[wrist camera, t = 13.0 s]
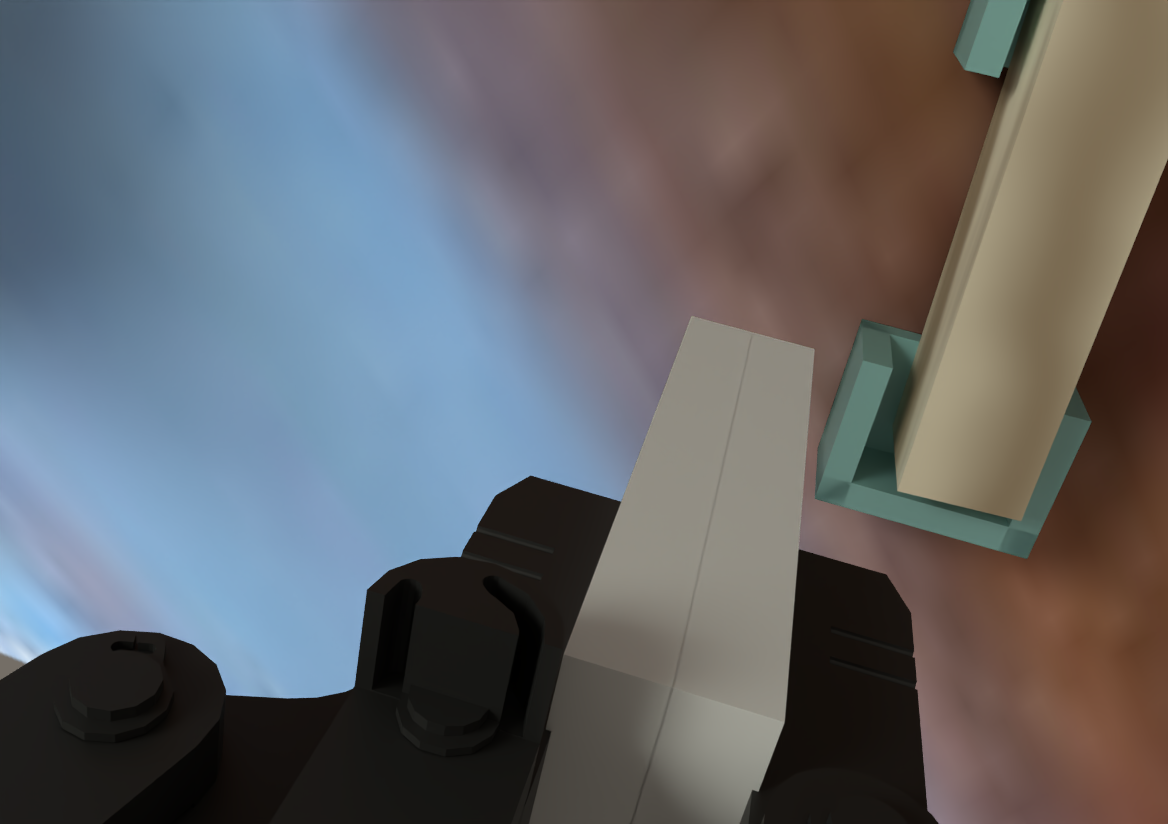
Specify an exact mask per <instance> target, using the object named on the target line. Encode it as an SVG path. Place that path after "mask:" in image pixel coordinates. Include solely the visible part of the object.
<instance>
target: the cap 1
mask: <svg viewBox="0 0 1168 824" xmlns="http://www.w3.org/2000/svg"><path fill="white" fill-rule="evenodd" d="M921 336H922V335H921V334H917V333H913V332H909V331H906V330H902V329H898V328H894V327H891V326H887V325H883V324H879V323H875V322H872V321H868V320H864V319H862V320H861V323H860V326H859V329H858V332H857V335H856V338H855V341H854V344H853V347H852V350H851V353H850V356H849V358H848V361H847V364H846V367H845V370H844V373H843V376H842V379H841V382H840V385H839V388H838V391H837V394H836V396H835V399H834V402H833V405H832V408H831V411H830V414H829V417H828V420H827V423H826V426H825V429H824V432H823V434H822V437H821V440H820V443H819V446H818V454H817V471H816V487H815V499H817V500H821V501H824V502H828V503H831V504H835V505H839V506H842V507H846V508H849V509H853V510H856V511H860V512H863V513H867V514H870V515H874V516H877V517H881V518H884V519H888V520H891V521H895V522H898V523H902V524H906V525H909V526H913V527H916V528H920V529H923V530H927V531H930V532H934V533H937V534H941V535H944V536H948V537H951V538H955V539H958V540H962V541H965V542H969V543H973V544H976V545H980V546H983V547H987V548H990V549H994V550H997V551H1001V552H1004V553H1008V554H1011V555H1015V556H1018V557H1022V558H1025V559H1027V558H1028V556H1029V554H1030V552H1031V549H1032V547H1033V545H1034V543H1035V541H1036V539H1037V537H1038V535H1039V532H1040V530H1041V528H1042V526H1043V524H1044V522H1045V520H1046V518H1047V515H1048V513H1049V511H1050V509H1051V507H1052V505H1053V503H1054V501H1055V498H1056V496H1057V494H1058V492H1059V490H1060V488H1061V486H1062V484H1063V481H1064V479H1065V477H1066V475H1067V473H1068V471H1069V469H1070V467H1071V464H1072V462H1073V460H1074V458H1075V456H1076V454H1077V452H1078V450H1079V447H1080V445H1081V443H1082V441H1083V439H1084V437H1085V435H1086V433H1087V431H1088V428H1089V426H1090V424H1091V419H1090V417H1089V415H1088V413H1087V411H1086V409H1085V406H1084V404H1083V402H1082V400H1081V398H1080V395H1079V393H1078V391H1077V389H1076V387H1075V389H1074V392H1073V394H1072V397H1071V399H1070V402H1069V404H1068V407H1067V409H1066V412H1065V414H1064V416H1063V419H1062V421H1061V424H1060V426H1059V429H1058V431H1057V434H1056V436H1055V439H1054V441H1053V444H1052V446H1051V449H1050V451H1049V454H1048V456H1047V458H1046V461H1045V463H1044V466H1043V468H1042V471H1041V473H1040V476H1039V478H1038V481H1037V483H1036V486H1035V488H1034V491H1033V493H1032V495H1031V498H1030V500H1029V503H1028V505H1027V508H1026V510H1025V513H1024V515H1023V518H1022V520H1021V521H1018V520H1014V519H1010V518H1006V517H1002V516H998V515H994V514H989V513H985V512H981V511H977V510H973V509H969V508H965V507H961V506H957V505H952V504H948V503H944V502H940V501H936V500H932V499H928V498H924V497H920V496H916V495H911V494H907V493H903V492H899V491H897V479H896V466H895V453H894V440H893V428H892V425H893V422H894V419H895V416H896V413H897V410H898V407H899V404H900V401H901V397H902V394H903V391H904V388H905V385H906V382H907V379H908V376H909V373H910V370H911V367H912V364H913V361H914V357H915V354H916V351H917V348H918V345H919V342H920V339H921Z"/></svg>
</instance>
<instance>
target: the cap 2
mask: <svg viewBox="0 0 1168 824" xmlns="http://www.w3.org/2000/svg"><path fill="white" fill-rule="evenodd" d="M1029 4H1030V0H971V2H970V5H969V7H968V10H967V13H966V16H965V19H964V22H963V25H962V28H961V31H960V34H959V37H958V40H957V43H956V46H955V48H954V51H953V53H954V54H955V56H956V57H957V59H958V60H959V62H960V63H961V65H962V67H963V68H964V70H968V71H972V72H976V73H980V74H985V75H989V76H993V77H997V78H999V76H1000V74H1001V71H1002V68H1003V67H1006V68H1009V65H1010V62H1011V59H1012V56H1013V53H1014V50H1015V47H1016V44H1017V40H1018V37H1019V34H1020V31H1021V28H1022V25H1023V22H1024V19H1025V16H1026V13H1027V10H1028V7H1029Z"/></svg>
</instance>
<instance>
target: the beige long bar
mask: <svg viewBox="0 0 1168 824" xmlns="http://www.w3.org/2000/svg"><path fill="white" fill-rule="evenodd" d="M1167 160H1168V0H1030V4H1029V7H1028V10H1027V13H1026V16H1025V19H1024V22H1023V25H1022V28H1021V31H1020V34H1019V37H1018V40H1017V44H1016V47H1015V50H1014V53H1013V56H1012V59H1011V62H1010V65H1009V68H1008V71H1007V74H1006V77H1005V80H1004V84H1003V87H1002V90H1001V93H1000V96H999V99H998V102H997V105H996V108H995V111H994V114H993V117H992V120H991V124H990V127H989V130H988V133H987V136H986V139H985V142H984V145H983V148H982V151H981V154H980V157H979V160H978V164H977V167H976V170H975V173H974V176H973V179H972V182H971V185H970V188H969V191H968V194H967V197H966V200H965V204H964V207H963V210H962V213H961V216H960V219H959V222H958V225H957V228H956V231H955V234H954V237H953V240H952V244H951V247H950V250H949V253H948V256H947V259H946V262H945V265H944V268H943V271H942V274H941V277H940V281H939V284H938V287H937V290H936V293H935V296H934V299H933V302H932V305H931V308H930V311H929V314H928V317H927V321H926V324H925V327H924V330H923V333H922V336H921V339H920V342H919V345H918V348H917V351H916V354H915V357H914V361H913V364H912V367H911V370H910V373H909V376H908V379H907V382H906V385H905V388H904V391H903V394H902V397H901V401H900V404H899V407H898V410H897V413H896V416H895V419H894V422H893V425H892V428H893V440H894V453H895V466H896V479H897V491H899V492H903V493H907V494H911V495H916V496H920V497H924V498H928V499H932V500H936V501H940V502H944V503H948V504H952V505H957V506H961V507H965V508H969V509H973V510H977V511H981V512H985V513H989V514H994V515H998V516H1002V517H1006V518H1010V519H1014V520H1018V521H1021V520H1022V518H1023V515H1024V513H1025V510H1026V508H1027V505H1028V503H1029V500H1030V498H1031V495H1032V493H1033V491H1034V488H1035V486H1036V483H1037V481H1038V478H1039V476H1040V473H1041V471H1042V468H1043V466H1044V463H1045V461H1046V458H1047V456H1048V454H1049V451H1050V449H1051V446H1052V444H1053V441H1054V439H1055V436H1056V434H1057V431H1058V429H1059V426H1060V424H1061V421H1062V419H1063V416H1064V414H1065V412H1066V409H1067V407H1068V404H1069V402H1070V399H1071V397H1072V394H1073V392H1074V389H1075V387H1076V384H1077V382H1078V379H1079V377H1080V375H1081V372H1082V370H1083V367H1084V365H1085V362H1086V360H1087V357H1088V355H1089V352H1090V350H1091V347H1092V345H1093V342H1094V340H1095V337H1096V335H1097V333H1098V330H1099V328H1100V325H1101V323H1102V320H1103V318H1104V315H1105V313H1106V310H1107V308H1108V305H1109V303H1110V300H1111V298H1112V296H1113V293H1114V291H1115V288H1116V286H1117V283H1118V281H1119V278H1120V276H1121V273H1122V271H1123V268H1124V266H1125V263H1126V261H1127V258H1128V256H1129V254H1130V251H1131V249H1132V246H1133V244H1134V241H1135V239H1136V236H1137V234H1138V231H1139V229H1140V226H1141V224H1142V221H1143V219H1144V216H1145V214H1146V212H1147V209H1148V207H1149V204H1150V202H1151V199H1152V197H1153V194H1154V192H1155V189H1156V187H1157V184H1158V182H1159V179H1160V177H1161V175H1162V172H1163V170H1164V167H1165V165H1166V162H1167Z"/></svg>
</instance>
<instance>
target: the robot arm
mask: <svg viewBox="0 0 1168 824" xmlns="http://www.w3.org/2000/svg"><path fill="white" fill-rule="evenodd" d="M814 350H815V349H813V348H809V347H805V346H802V345H798V344H794V343H790V342H787V341H783V340H779V339H775V338H772V337H768V336H764V335H761V334H757V333H753V332H749V331H746V330H742V329H738V328H735V327H731V326H727V325H723V324H720V323H716V322H712V321H708V320H705V319H701V318H697V317H694V316H691V319H690V321H689V324H688V327H687V329H686V332H685V335H684V337H683V340H682V343H681V345H680V348H679V351H678V353H677V356H676V358H675V361H674V364H673V366H672V369H671V372H670V374H669V377H668V380H667V382H666V385H665V388H664V390H663V393H662V396H661V398H660V401H659V403H658V406H657V409H656V411H655V414H654V417H653V419H652V422H651V425H650V427H649V430H648V433H647V435H646V438H645V440H644V443H643V446H642V448H641V451H640V454H639V456H638V459H637V462H636V464H635V467H634V470H633V472H632V475H631V478H630V480H629V483H628V485H627V488H626V491H625V493H624V496H623V499H622V501H621V502H620V501H617V500H613V499H610V498H606V497H603V496H599V495H596V494H592V493H589V492H585V491H582V490H579V489H575V488H572V487H568V486H565V485H561V484H558V483H554V482H551V481H547V480H544V479H541V478H537V477H534V476H529V477H528V478H526V479H524V480H522V481H520V482H519V483H517V484H515V485H513V486H512V487H510V488H508V489H506V490H504V491H503V492H501V493H499V494H497V495H496V496H495V497H494V499H493V501H492V502H491V504H490V506H489V507H488V509H487V511H486V512H485V514H484V516H483V517H482V519H481V521H480V523H479V524H478V527H477V530H476V532H474V533H473V534H472V536H471V538H470V539H469V541H468V543H467V545H466V546H465V548H464V550H463V553H462V556H461V557H447V558H432V559H420V560H417V561H414V562H411V563H409V564H406V565H403V566H400V567H397V568H395V569H392V570H389V571H388V572H387V573H386V574H385V575H383V576H382V577H381V578H380V579H379V580H378V581H377V582H375V583H374V584H373V585H372V586H371V587H370V588H369V589H367V595H366V603H365V611H364V618H363V626H362V634H361V642H360V650H359V657H358V665H357V673H356V681H355V686H354V688H353V689H351V690H349V691H347V692H343V693H338V694H333V695H328V696H323V697H318V698H289V699H286V698H268V697H250V696H232V695H226V689H225V686H224V684H223V681H222V678H221V676H220V673H219V670H218V668H217V665H216V664H215V663H214V662H213V661H212V660H210V659H209V658H208V657H207V656H206V655H205V654H203V653H202V652H201V651H200V650H199V649H197V648H196V647H195V646H194V645H192V644H190V643H187V642H184V641H181V640H178V639H175V638H173V637H170V636H167V635H164V634H161V633H153V632H137V631H121V630H119V631H114V632H108V633H103V634H97V635H91V636H86V637H80V638H77V639H75V640H73V641H70V642H68V643H66V644H64V645H61V646H59V647H57V648H55V649H52V650H50V651H48V652H46V653H44V654H41V655H40V656H38V657H37V658H35V659H33V660H32V661H30V662H29V663H27V664H25V665H24V666H22V667H21V668H19V669H17V670H16V671H14V672H13V673H11V674H9V675H8V676H6V677H5V678H3V679H1V680H0V824H938V822H937V821H936V820H935V818H934V817H933V816H932V814H930V813H929V812H928V811H927V800H926V788H925V776H924V764H923V752H922V740H921V728H920V716H919V704H918V692H917V690H916V689H915V686H916V682H917V680H916V668H915V658H913V657H912V656H913V652H914V644H913V632H912V620H911V612H910V611H909V609H908V608H907V606H906V604H905V603H904V601H903V600H902V598H901V597H900V595H899V593H898V592H897V590H896V589H895V587H894V586H893V584H892V583H891V581H890V579H889V578H888V576H887V575H886V574H882V573H879V572H875V571H872V570H868V569H865V568H862V567H858V566H855V565H851V564H848V563H844V562H841V561H837V560H834V559H830V558H827V557H823V556H820V555H817V554H813V553H810V552H806V551H803V550H799V537H800V525H801V512H802V500H803V487H804V475H805V462H806V450H807V437H808V425H809V412H810V400H811V387H812V375H813V362H814Z"/></svg>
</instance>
